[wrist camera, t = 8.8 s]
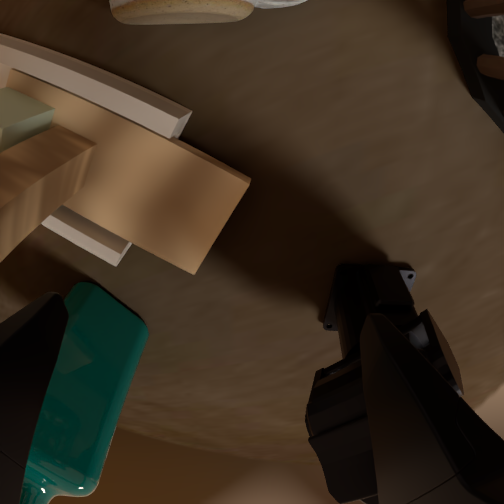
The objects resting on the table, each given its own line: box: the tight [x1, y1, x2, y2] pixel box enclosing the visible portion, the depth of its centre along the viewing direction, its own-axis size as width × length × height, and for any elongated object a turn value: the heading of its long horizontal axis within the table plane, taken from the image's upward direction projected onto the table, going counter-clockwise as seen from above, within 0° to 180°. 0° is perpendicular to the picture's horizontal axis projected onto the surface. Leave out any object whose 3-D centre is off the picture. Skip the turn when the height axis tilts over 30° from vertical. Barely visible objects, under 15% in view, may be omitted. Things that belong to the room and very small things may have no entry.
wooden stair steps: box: [0, 68, 251, 275], centre depth 14 cm, size 18×8×13 cm, turn 60°
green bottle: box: [19, 282, 149, 504], centre depth 19 cm, size 10×8×22 cm
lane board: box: [0, 33, 192, 266], centre depth 17 cm, size 22×11×3 cm, turn 60°
